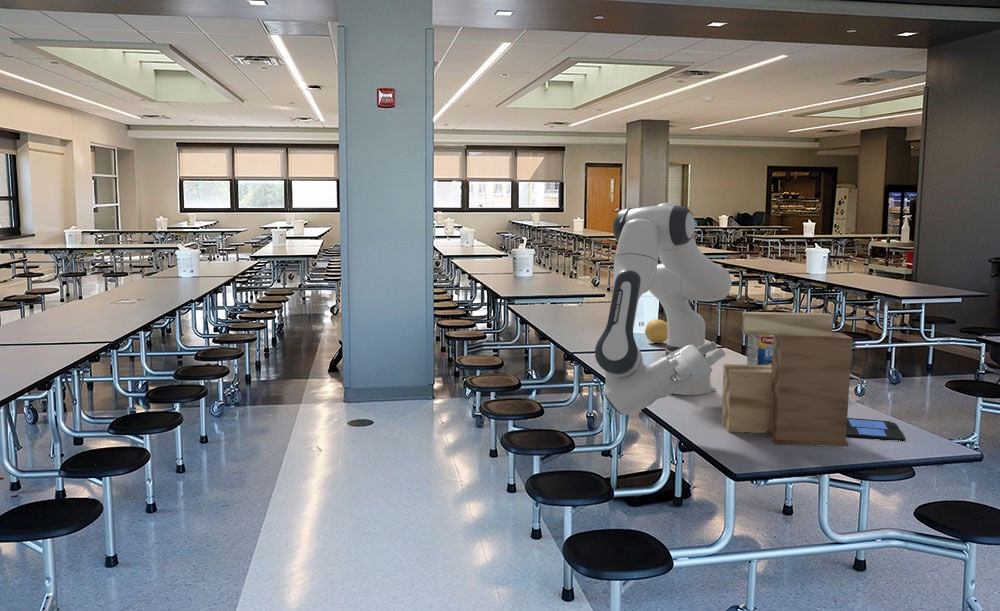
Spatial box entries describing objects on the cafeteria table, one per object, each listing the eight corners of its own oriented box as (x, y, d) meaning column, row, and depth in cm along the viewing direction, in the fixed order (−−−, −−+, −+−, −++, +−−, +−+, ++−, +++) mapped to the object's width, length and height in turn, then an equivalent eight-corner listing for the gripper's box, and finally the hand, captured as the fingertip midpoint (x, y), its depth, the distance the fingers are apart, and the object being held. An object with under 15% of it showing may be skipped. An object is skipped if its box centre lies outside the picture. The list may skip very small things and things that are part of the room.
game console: (841, 438, 192) (842, 430, 191) (834, 424, 204) (835, 416, 204) (906, 444, 188) (907, 435, 188) (894, 429, 200) (895, 420, 200)
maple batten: (742, 332, 189) (743, 311, 188) (826, 333, 187) (828, 313, 186) (745, 334, 185) (746, 314, 184) (831, 336, 183) (833, 315, 183)
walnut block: (766, 434, 194) (771, 331, 190) (835, 436, 192) (842, 332, 189) (775, 444, 185) (780, 337, 182) (847, 446, 184) (854, 338, 181)
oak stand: (721, 422, 204) (724, 358, 202) (807, 424, 202) (811, 360, 200) (728, 432, 195) (731, 365, 193) (818, 434, 193) (822, 367, 191)
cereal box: (745, 381, 251) (748, 313, 249) (776, 379, 253) (780, 313, 251) (756, 385, 245) (759, 316, 242) (788, 384, 247) (791, 316, 244)
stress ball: (664, 348, 312) (679, 331, 315) (650, 330, 310) (664, 313, 313) (650, 348, 321) (664, 331, 324) (636, 331, 319) (650, 314, 322)
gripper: (668, 372, 179) (722, 344, 177) (657, 355, 199) (706, 329, 197) (681, 396, 180) (735, 368, 178) (669, 376, 200) (718, 350, 198)
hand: (719, 347), depth 188 cm, fingers open, 8 cm apart
